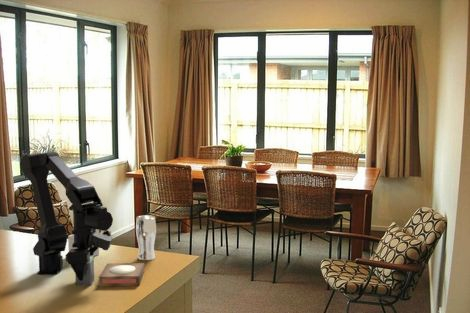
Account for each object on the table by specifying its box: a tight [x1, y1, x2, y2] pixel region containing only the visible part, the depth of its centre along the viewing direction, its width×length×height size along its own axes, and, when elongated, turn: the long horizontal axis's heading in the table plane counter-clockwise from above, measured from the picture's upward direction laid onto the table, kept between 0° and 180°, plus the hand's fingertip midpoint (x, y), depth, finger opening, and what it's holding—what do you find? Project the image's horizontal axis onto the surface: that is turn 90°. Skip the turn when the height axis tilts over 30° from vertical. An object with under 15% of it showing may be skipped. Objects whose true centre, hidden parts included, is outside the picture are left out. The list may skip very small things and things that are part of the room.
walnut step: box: [98, 262, 145, 287], centre depth 156 cm, size 12×12×3 cm
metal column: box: [75, 256, 95, 287], centre depth 153 cm, size 4×4×8 cm
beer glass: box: [135, 214, 157, 262], centre depth 176 cm, size 7×7×15 cm
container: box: [67, 234, 100, 257], centre depth 179 cm, size 8×8×13 cm
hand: (84, 274), depth 153 cm, fingers open, 9 cm apart
